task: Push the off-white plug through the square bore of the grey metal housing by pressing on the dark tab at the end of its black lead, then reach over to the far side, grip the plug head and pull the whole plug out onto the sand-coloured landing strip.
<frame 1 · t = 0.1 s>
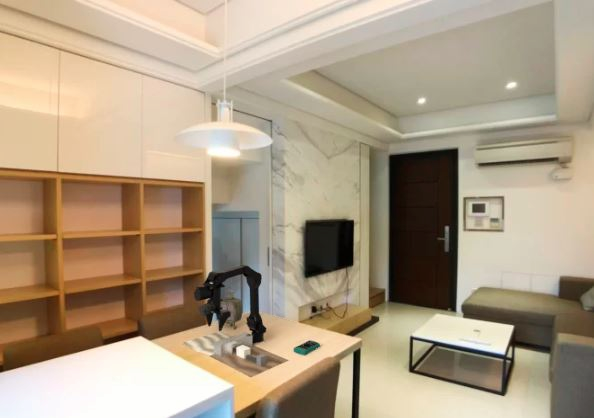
hand: (214, 328, 173), 15 cm above the table, tool pointing down, fingers open, 9 cm apart
plug: (251, 359, 170), point 1 cm above the table, touching base board
base board: (231, 351, 181), on the table
motor housing: (233, 353, 180), resting on base board
tabletop clock: (229, 327, 220), on the table
digital multimeter: (306, 350, 186), on the table
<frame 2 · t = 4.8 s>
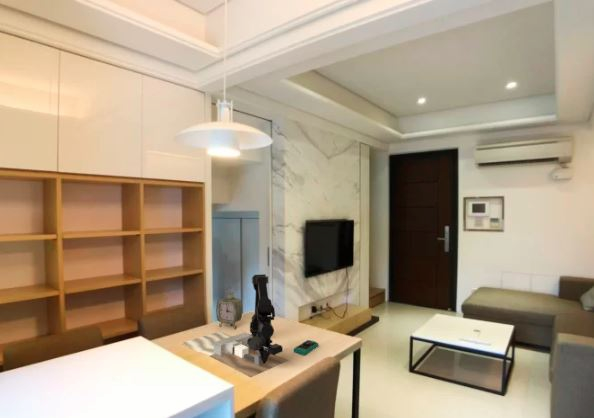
hand: (264, 363, 164), 2 cm above the table, tool pointing down, fingers closed
plug: (249, 358, 171), point 1 cm above the table, touching gripper
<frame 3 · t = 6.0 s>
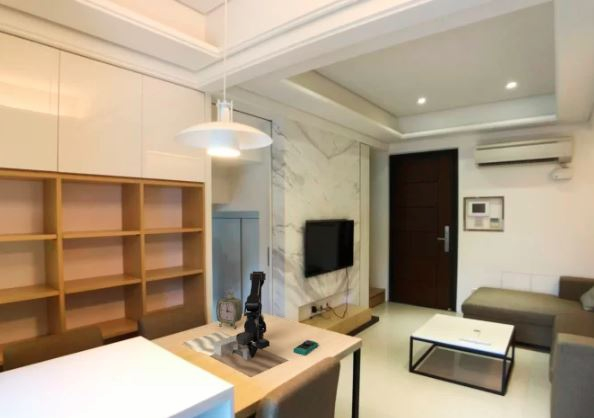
hand: (252, 357, 170), 2 cm above the table, tool pointing down, fingers closed
plug: (238, 353, 177), point 1 cm above the table, touching gripper
everything else where it was.
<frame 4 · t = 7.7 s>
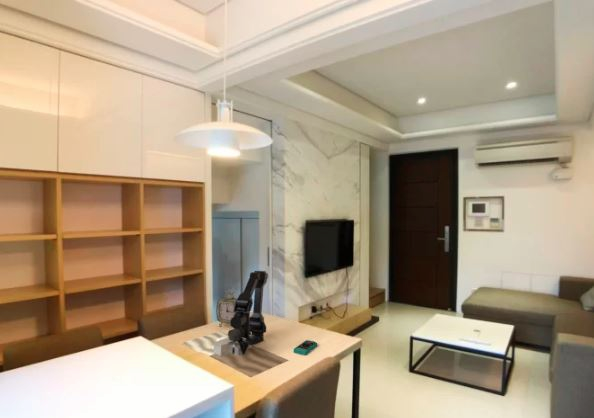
hand: (243, 353, 174), 2 cm above the table, tool pointing down, fingers closed
plug: (230, 349, 181), point 1 cm above the table, touching base board, gripper
everything else where it was.
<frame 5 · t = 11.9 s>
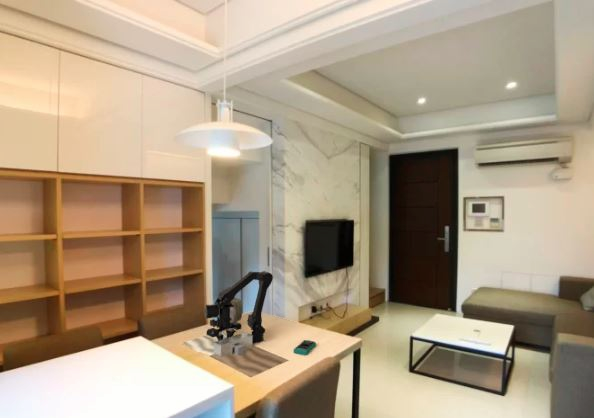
hand: (224, 345, 185), 2 cm above the table, tool pointing down, fingers closed on plug, 4 cm apart
plug: (230, 349, 181), point 1 cm above the table, touching base board, gripper
when the fingers open (2 cm above the table, at t = 16.1 s): plug stays where it is, resting on base board.
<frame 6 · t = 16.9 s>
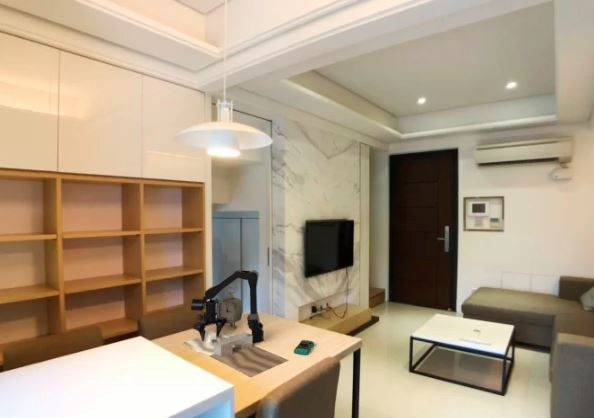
hand: (210, 338, 194), 2 cm above the table, tool pointing down, fingers open, 9 cm apart
plug: (216, 343, 190), point 1 cm above the table, touching base board
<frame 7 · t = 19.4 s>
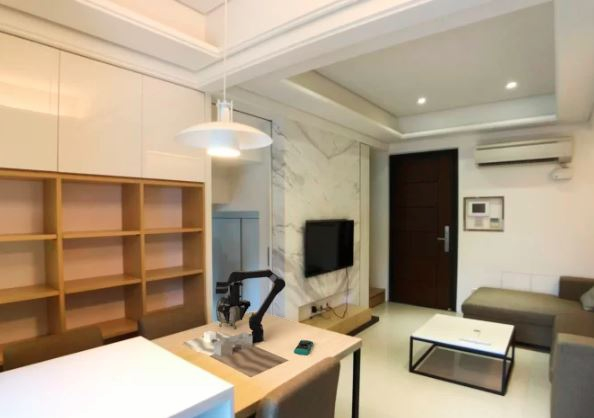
hand: (234, 321, 192), 12 cm above the table, tool pointing down, fingers open, 9 cm apart
at the end: plug inside the target area (1.5 cm from its centre), point 1.0 cm above the table; the gripper is holding nothing; plug tilted 0° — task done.
